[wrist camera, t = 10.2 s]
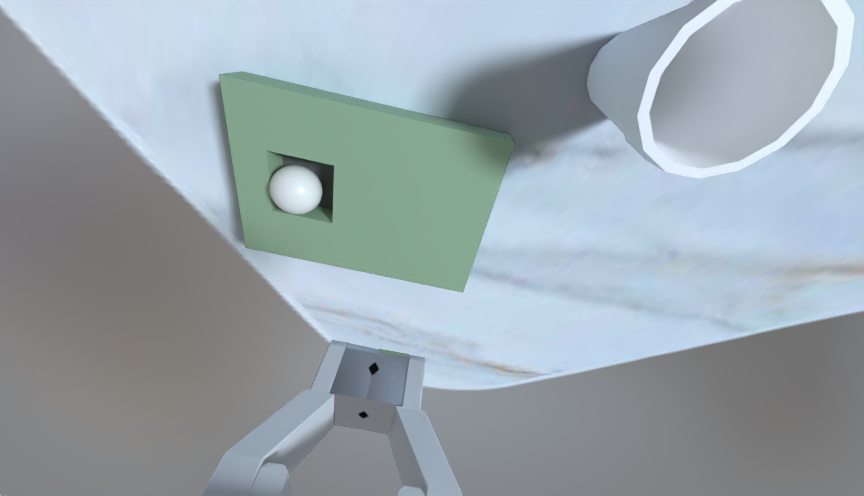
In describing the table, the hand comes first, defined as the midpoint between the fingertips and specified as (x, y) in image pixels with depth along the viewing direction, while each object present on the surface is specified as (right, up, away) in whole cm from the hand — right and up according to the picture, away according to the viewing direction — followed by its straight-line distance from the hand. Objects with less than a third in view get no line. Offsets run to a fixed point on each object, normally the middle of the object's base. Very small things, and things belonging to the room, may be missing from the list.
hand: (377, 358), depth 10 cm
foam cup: (+19, +19, +17) cm, 32 cm away
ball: (-12, +10, +22) cm, 27 cm away
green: (-5, +10, +25) cm, 27 cm away
